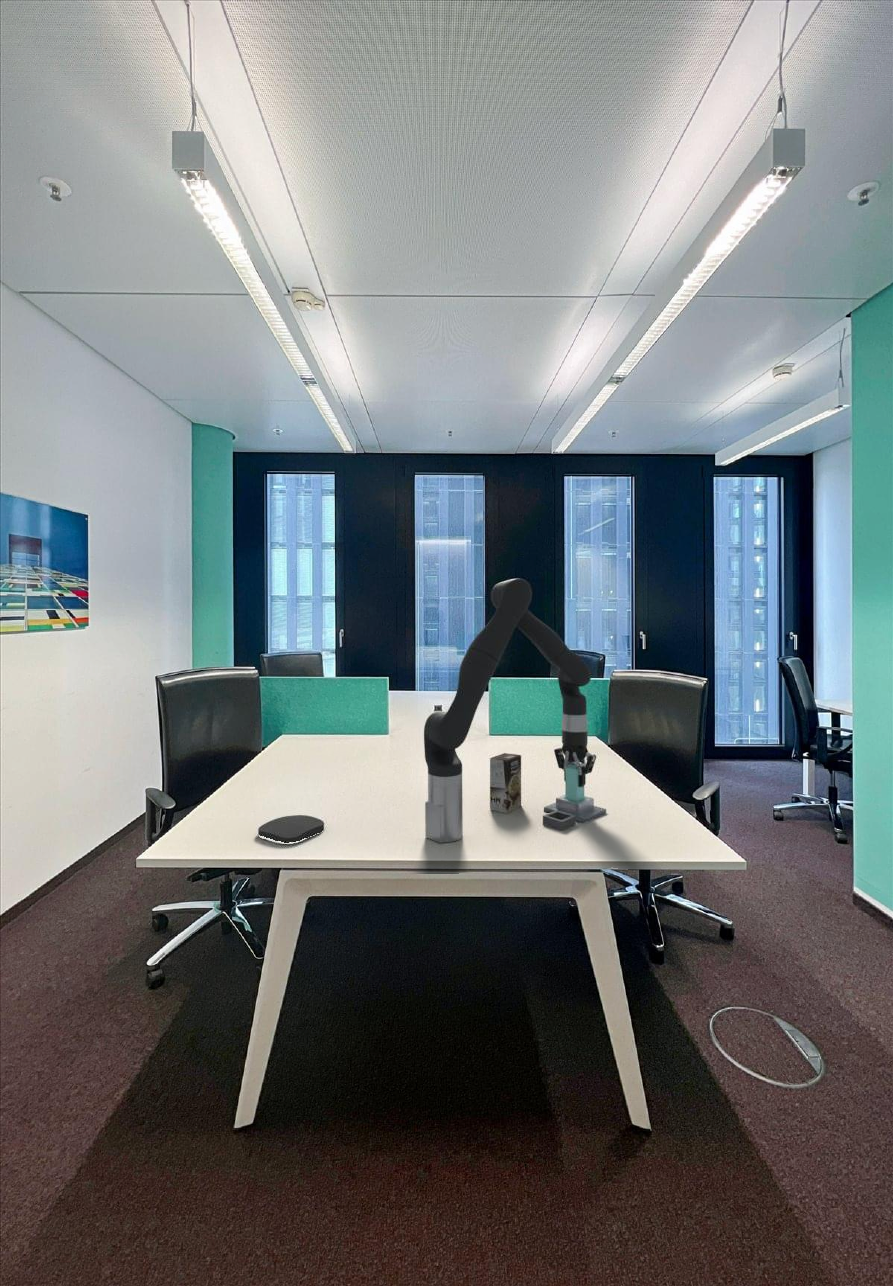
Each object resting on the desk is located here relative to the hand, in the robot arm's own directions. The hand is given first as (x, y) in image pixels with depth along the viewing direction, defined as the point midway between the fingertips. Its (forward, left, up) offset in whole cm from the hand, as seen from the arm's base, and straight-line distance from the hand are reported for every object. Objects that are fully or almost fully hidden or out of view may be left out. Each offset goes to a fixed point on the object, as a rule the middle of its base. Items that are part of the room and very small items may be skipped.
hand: (574, 784), depth 162 cm
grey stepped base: (0, 0, -8) cm, 8 cm away
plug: (0, 0, -5) cm, 5 cm away
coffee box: (-12, +17, -9) cm, 23 cm away
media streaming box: (-70, +44, -9) cm, 83 cm away
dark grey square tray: (-12, -3, -8) cm, 15 cm away
